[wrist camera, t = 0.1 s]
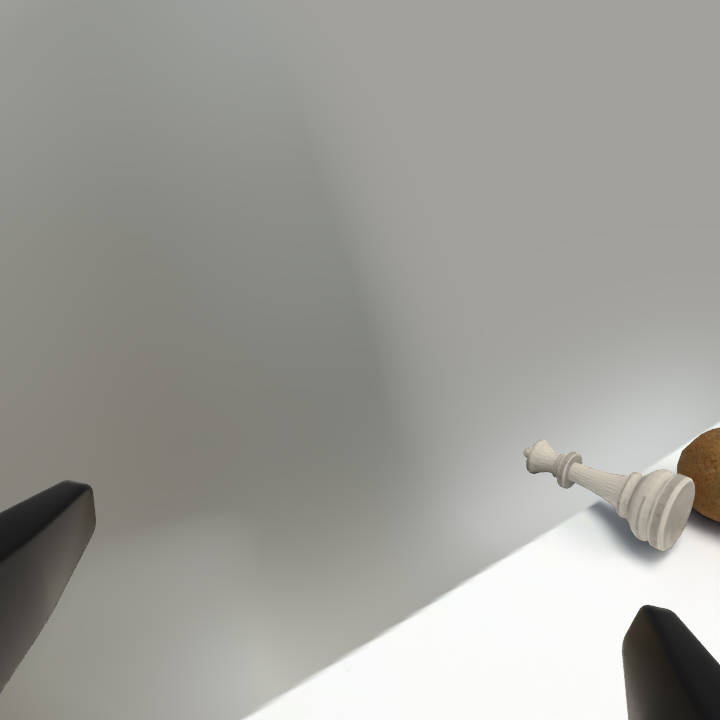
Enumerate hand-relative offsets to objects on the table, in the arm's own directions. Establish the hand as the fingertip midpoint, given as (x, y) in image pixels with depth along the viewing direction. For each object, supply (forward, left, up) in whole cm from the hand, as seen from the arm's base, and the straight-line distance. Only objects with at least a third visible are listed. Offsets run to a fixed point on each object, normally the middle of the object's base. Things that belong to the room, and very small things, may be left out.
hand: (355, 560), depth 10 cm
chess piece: (+21, -17, -14) cm, 30 cm away
